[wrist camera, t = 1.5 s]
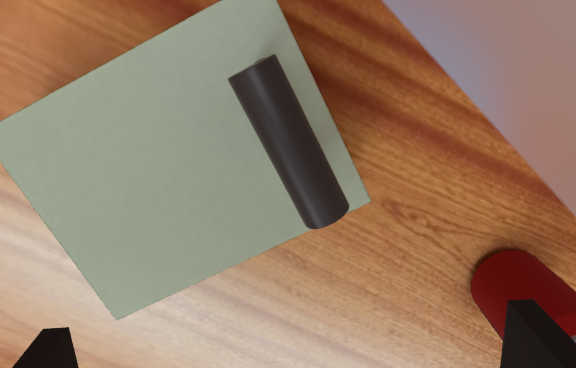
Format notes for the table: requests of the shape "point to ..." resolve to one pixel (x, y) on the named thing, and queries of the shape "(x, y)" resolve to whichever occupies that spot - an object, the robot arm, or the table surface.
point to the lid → (184, 155)
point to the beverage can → (522, 289)
